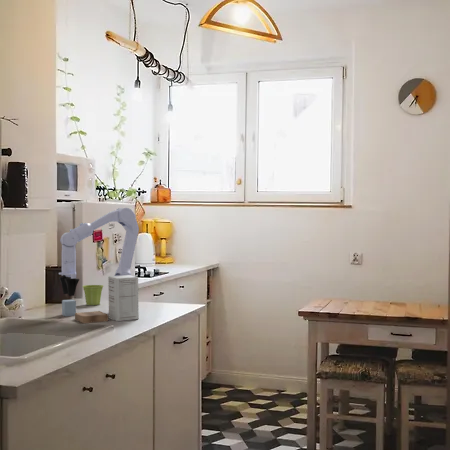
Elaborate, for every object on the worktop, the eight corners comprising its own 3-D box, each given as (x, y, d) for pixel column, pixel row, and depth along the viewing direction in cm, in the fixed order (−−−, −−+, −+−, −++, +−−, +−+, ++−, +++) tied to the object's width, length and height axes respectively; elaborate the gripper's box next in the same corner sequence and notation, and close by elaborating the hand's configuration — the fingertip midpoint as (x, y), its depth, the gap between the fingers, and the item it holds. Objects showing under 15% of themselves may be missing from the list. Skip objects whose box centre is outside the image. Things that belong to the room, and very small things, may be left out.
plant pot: (82, 303, 290) (82, 285, 290) (103, 303, 292) (103, 284, 292) (82, 306, 281) (82, 287, 281) (104, 305, 283) (104, 286, 283)
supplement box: (130, 316, 254) (130, 274, 254) (139, 319, 246) (139, 276, 246) (107, 318, 249) (107, 275, 249) (116, 321, 241) (116, 277, 241)
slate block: (72, 313, 260) (72, 299, 260) (75, 315, 256) (75, 300, 256) (62, 314, 258) (61, 300, 258) (65, 316, 254) (64, 301, 254)
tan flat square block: (99, 318, 251) (99, 311, 251) (108, 322, 242) (107, 314, 242) (75, 320, 246) (75, 313, 246) (82, 324, 237) (82, 316, 237)
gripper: (54, 260, 261) (54, 293, 261) (63, 263, 248) (63, 297, 249) (71, 260, 264) (71, 292, 265) (81, 262, 252) (81, 296, 252)
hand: (68, 294), depth 257 cm, fingers open, 7 cm apart
